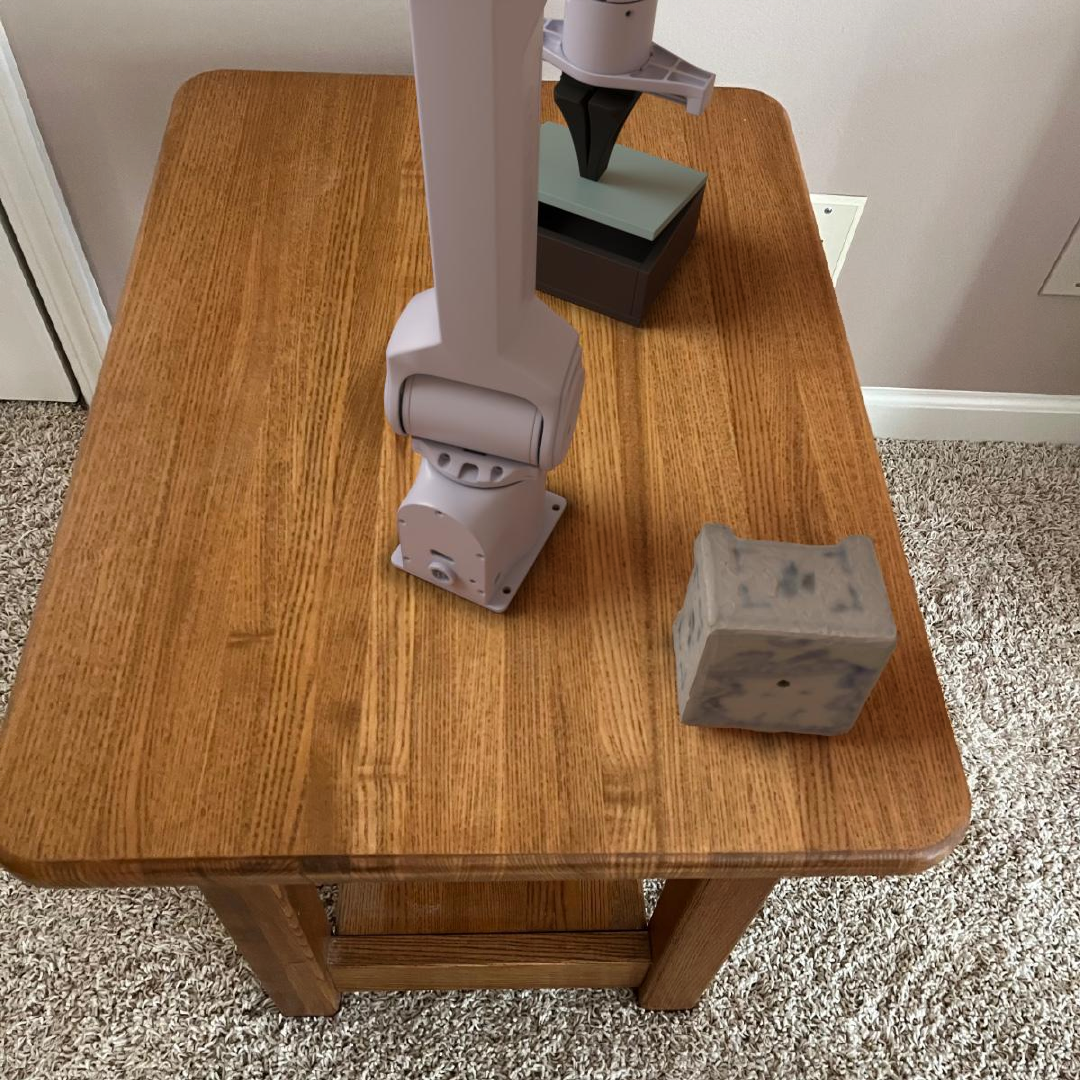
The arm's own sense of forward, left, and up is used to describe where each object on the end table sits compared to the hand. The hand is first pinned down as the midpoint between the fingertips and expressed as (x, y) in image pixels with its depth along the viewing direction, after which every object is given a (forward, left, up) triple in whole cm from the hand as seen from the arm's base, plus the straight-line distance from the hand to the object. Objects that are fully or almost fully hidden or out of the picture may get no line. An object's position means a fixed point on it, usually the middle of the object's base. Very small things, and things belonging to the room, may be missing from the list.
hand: (593, 171), depth 71 cm
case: (+1, 0, -8) cm, 8 cm away
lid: (+1, 0, -1) cm, 1 cm away
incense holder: (-28, -24, -8) cm, 38 cm away
